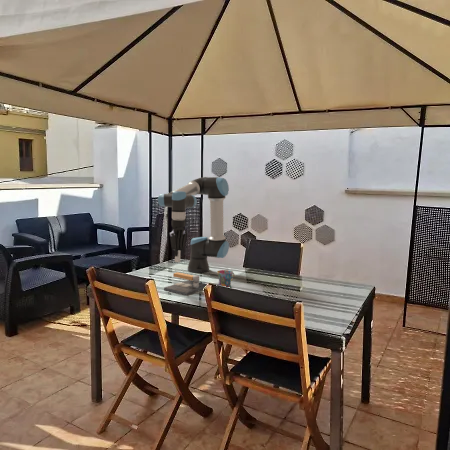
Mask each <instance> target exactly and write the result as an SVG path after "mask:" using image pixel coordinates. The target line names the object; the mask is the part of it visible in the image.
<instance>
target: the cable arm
mask: <svg viewBox="0 0 450 450" xmlns="http://www.w3.org/2000/svg"><path fill="white" fill-rule="evenodd" d="M172 276H173V277H174V278H178V279H182V280H186V281H188V280H191V281H193V282H200V275H195V274H194V275H193V274H189V273H182V272H173V274H172Z"/></svg>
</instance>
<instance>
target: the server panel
mask: <svg viewBox="0 0 450 450" xmlns="http://www.w3.org/2000/svg"><path fill="white" fill-rule="evenodd" d="M207 284H208V283H205V282H200V281H199V282H193V281H191V280H185V281H182V282H181V281H179V282H177V283H174V284H171V285H168V286H165V287H164V288H163V290H164V291H166V292H170V293H174V294H178V295H181V296H182V295H184V296H188V295H191V294H194V293H197V292H200V291H203V288H204V287H205V286H206V285H207Z"/></svg>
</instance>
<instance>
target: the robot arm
mask: <svg viewBox="0 0 450 450" xmlns="http://www.w3.org/2000/svg"><path fill="white" fill-rule="evenodd" d="M229 189H230V188H229V182H228V181H227V179H226V178H224V177H219V176H218V177H217V176H215V177H211V176H203V177H199V178H195V179H193V180H190V181H189V182H188V183H187V184H186V185H184V186H182V187H179V188H177V189H175V190H172V191H170V192H168V193H160V194H159V195H158V197H157V202H158V203H157V204H158V205H159V207H164V208H166V207H167V208H171V227H172V229H171V232H169V233H168V236H169V237H170V238H169V239H170V245H171V246H170V247H171V250H173V251H174V253H173V254H174V263H181V257H182V256H181V255H182V251H183V250H184V248H185V244H186V238H187V234H188V231H186V230H185V227H186V218H187V217H186V213H187V212H186V211H187V210H186V209H192V208H194V207H197V204H198V203H197V202H198V200H197V197H196V196H198V195H204V196H206V195H207V199H208V200H209V202H210V203H209V207H210V209H209V210H210V211H209V212H210V215H209V217H210V236H209V237H208V236H199V237H198V236H197V237H193V238H191V240H190V257H189V258H190V259H189V261H188V262H189V263H188V265H187V271H188V272H190V273H209V271H210V266H209V262H208V257H210V258H216V259H224V258H225V257H226V256H228V252H229V249H230V243H229V241H228V240H226V237H225V236H224V200H225V199H226V196H228V194H229Z"/></svg>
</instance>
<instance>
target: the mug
mask: <svg viewBox="0 0 450 450" xmlns="http://www.w3.org/2000/svg"><path fill="white" fill-rule="evenodd" d="M216 273H217V276H218V285H222V286H226V287H230V288H232V289H233V287H232V281H233V280H234V278H235V273H234V271H232V270H229V269H220V270H217V271H216Z"/></svg>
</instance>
